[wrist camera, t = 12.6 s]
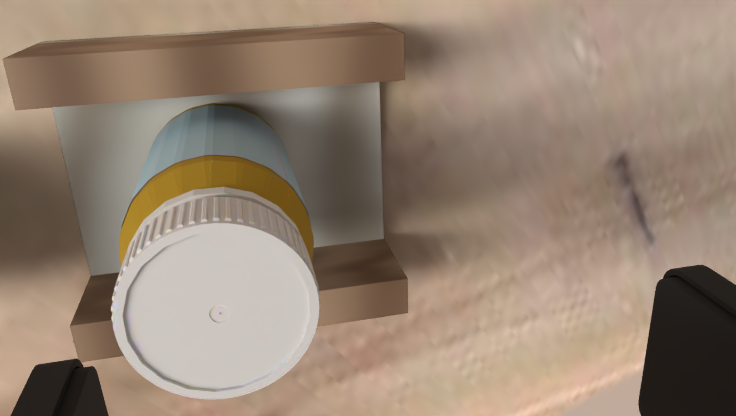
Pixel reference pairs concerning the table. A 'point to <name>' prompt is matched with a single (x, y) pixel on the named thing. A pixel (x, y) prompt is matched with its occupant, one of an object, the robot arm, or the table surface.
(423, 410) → the table surface
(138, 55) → the u rest
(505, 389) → the table surface
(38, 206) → the table surface
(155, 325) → the bottle
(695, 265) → the robot arm
